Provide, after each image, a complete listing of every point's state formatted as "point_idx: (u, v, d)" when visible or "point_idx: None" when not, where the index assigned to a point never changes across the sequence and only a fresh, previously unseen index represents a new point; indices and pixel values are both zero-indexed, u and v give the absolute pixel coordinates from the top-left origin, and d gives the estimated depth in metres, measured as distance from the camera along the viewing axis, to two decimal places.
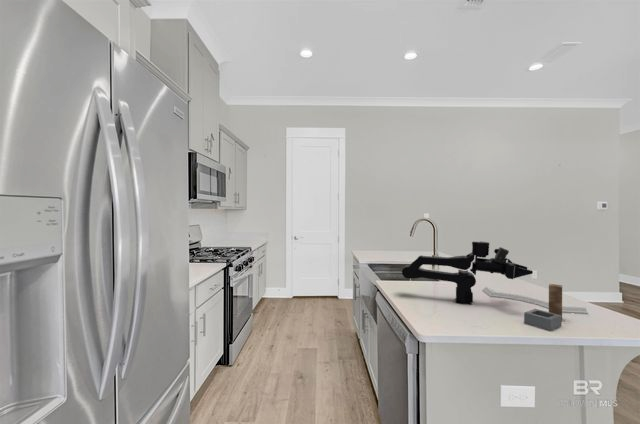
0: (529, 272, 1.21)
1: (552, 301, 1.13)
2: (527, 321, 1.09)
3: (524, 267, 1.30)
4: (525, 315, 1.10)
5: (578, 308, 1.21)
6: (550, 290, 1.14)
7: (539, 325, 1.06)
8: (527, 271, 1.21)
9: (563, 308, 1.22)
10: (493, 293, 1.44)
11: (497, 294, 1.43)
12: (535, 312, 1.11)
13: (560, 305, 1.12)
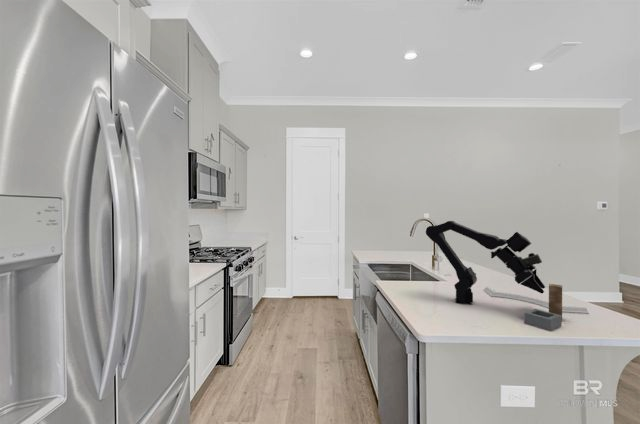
0: (540, 290, 1.13)
1: (552, 301, 1.13)
2: (527, 321, 1.09)
3: (542, 285, 1.20)
4: (525, 315, 1.10)
5: (579, 308, 1.21)
6: (550, 290, 1.14)
7: (539, 325, 1.06)
8: (539, 288, 1.13)
9: (564, 308, 1.22)
10: (494, 293, 1.44)
11: (498, 294, 1.43)
12: (535, 312, 1.11)
13: (560, 305, 1.12)
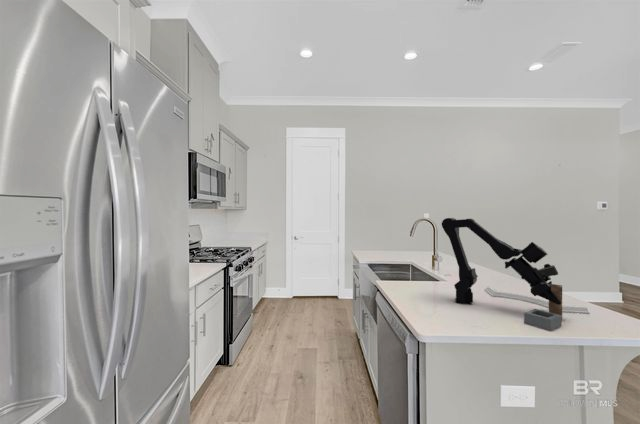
0: (557, 301, 1.12)
1: None
2: (527, 321, 1.09)
3: None
4: (525, 315, 1.10)
5: (579, 308, 1.22)
6: None
7: (539, 325, 1.06)
8: (555, 299, 1.12)
9: (564, 308, 1.23)
10: (495, 293, 1.45)
11: (499, 294, 1.44)
12: (535, 312, 1.11)
13: (560, 305, 1.12)
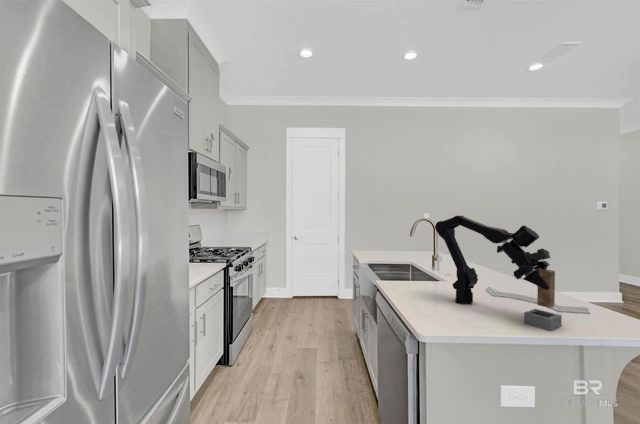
0: (545, 286, 1.07)
1: None
2: (527, 321, 1.09)
3: None
4: (525, 315, 1.10)
5: (580, 308, 1.22)
6: None
7: (539, 325, 1.06)
8: (543, 284, 1.08)
9: (565, 308, 1.23)
10: (495, 292, 1.45)
11: (499, 293, 1.44)
12: (535, 312, 1.11)
13: (548, 291, 1.07)
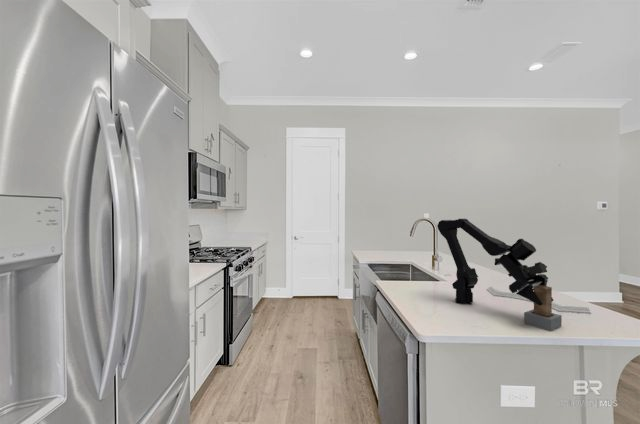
0: (538, 302, 1.06)
1: None
2: (527, 321, 1.09)
3: None
4: (525, 315, 1.10)
5: (581, 308, 1.22)
6: (535, 291, 1.09)
7: (539, 325, 1.06)
8: (536, 300, 1.06)
9: (565, 307, 1.23)
10: (497, 292, 1.46)
11: (501, 293, 1.45)
12: None
13: (544, 307, 1.06)
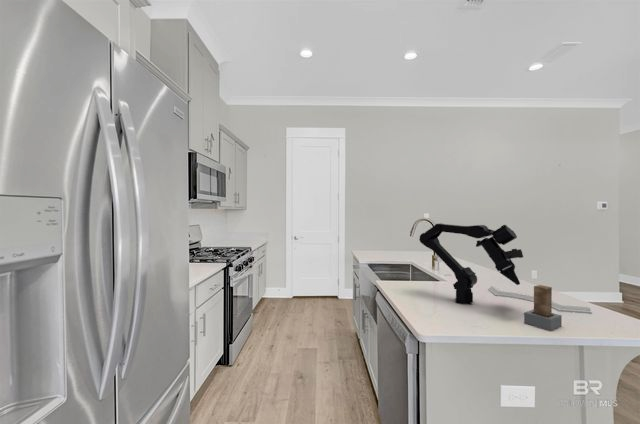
0: (516, 281, 1.15)
1: (537, 303, 1.08)
2: (527, 321, 1.09)
3: (518, 281, 1.23)
4: (525, 315, 1.10)
5: (582, 307, 1.22)
6: (535, 291, 1.09)
7: (539, 325, 1.06)
8: (515, 279, 1.15)
9: (566, 307, 1.23)
10: (498, 292, 1.46)
11: (502, 293, 1.45)
12: None
13: (544, 307, 1.06)
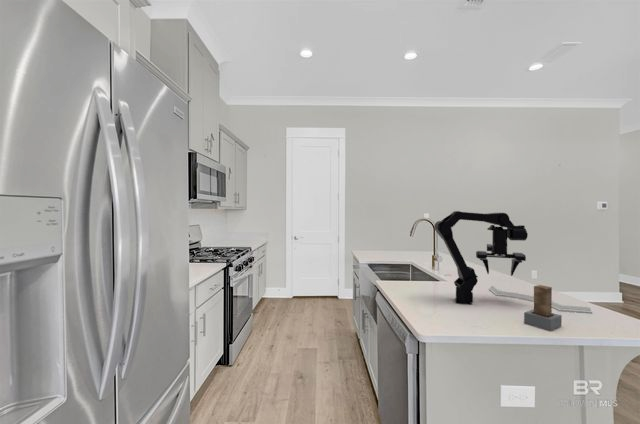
0: None
1: (537, 303, 1.08)
2: (527, 321, 1.09)
3: None
4: (525, 315, 1.10)
5: (582, 307, 1.22)
6: (535, 291, 1.09)
7: (539, 325, 1.06)
8: None
9: (566, 307, 1.23)
10: (498, 292, 1.46)
11: (502, 293, 1.45)
12: None
13: (544, 307, 1.06)
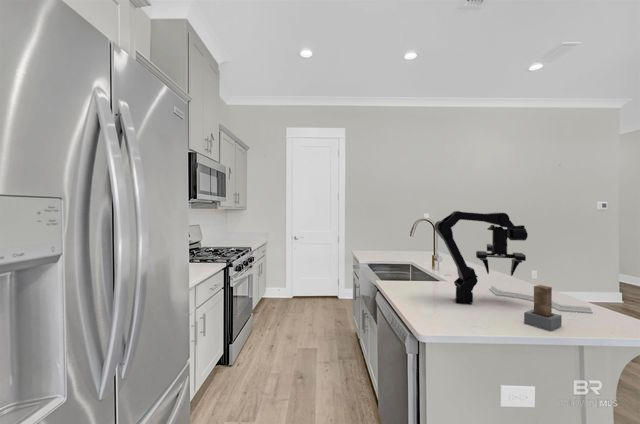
0: None
1: (537, 303, 1.08)
2: (527, 321, 1.09)
3: None
4: (525, 315, 1.10)
5: (582, 307, 1.22)
6: (535, 291, 1.09)
7: (539, 325, 1.06)
8: None
9: (567, 307, 1.24)
10: (499, 292, 1.46)
11: (503, 293, 1.46)
12: None
13: (544, 307, 1.06)
